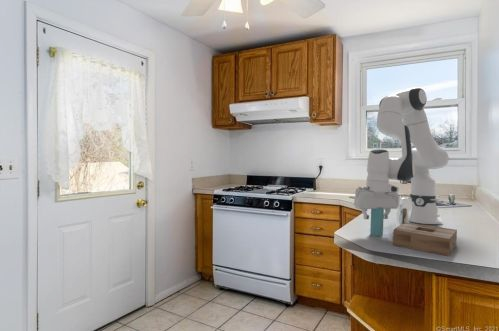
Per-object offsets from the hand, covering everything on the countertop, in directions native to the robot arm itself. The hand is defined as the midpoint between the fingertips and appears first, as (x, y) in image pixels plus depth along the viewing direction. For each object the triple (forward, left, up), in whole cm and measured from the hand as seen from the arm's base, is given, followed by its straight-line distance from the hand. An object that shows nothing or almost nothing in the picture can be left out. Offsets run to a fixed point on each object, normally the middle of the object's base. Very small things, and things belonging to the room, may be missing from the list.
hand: (375, 218), depth 131 cm
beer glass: (-17, +7, -7) cm, 20 cm away
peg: (0, +1, -7) cm, 7 cm away
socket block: (+3, +20, -7) cm, 21 cm away
